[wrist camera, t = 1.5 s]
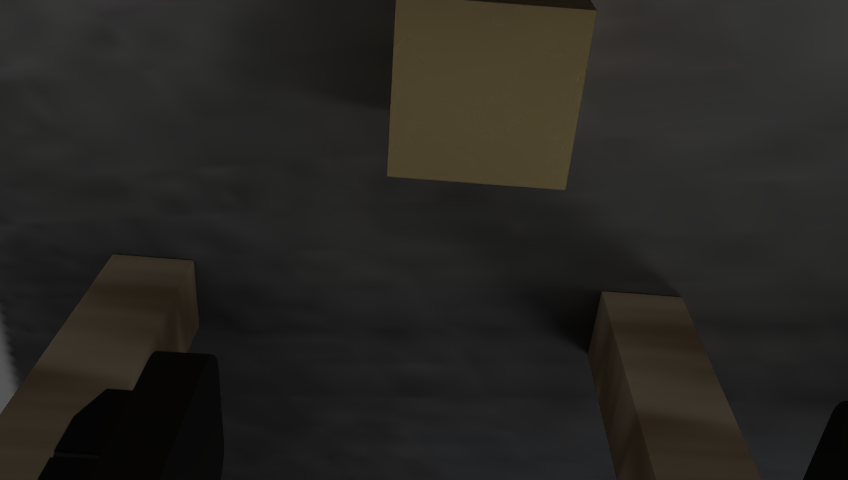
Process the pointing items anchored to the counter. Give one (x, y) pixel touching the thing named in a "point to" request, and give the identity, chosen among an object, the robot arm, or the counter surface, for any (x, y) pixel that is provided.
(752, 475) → the trapdoor frame
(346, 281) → the counter surface
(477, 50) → the block
